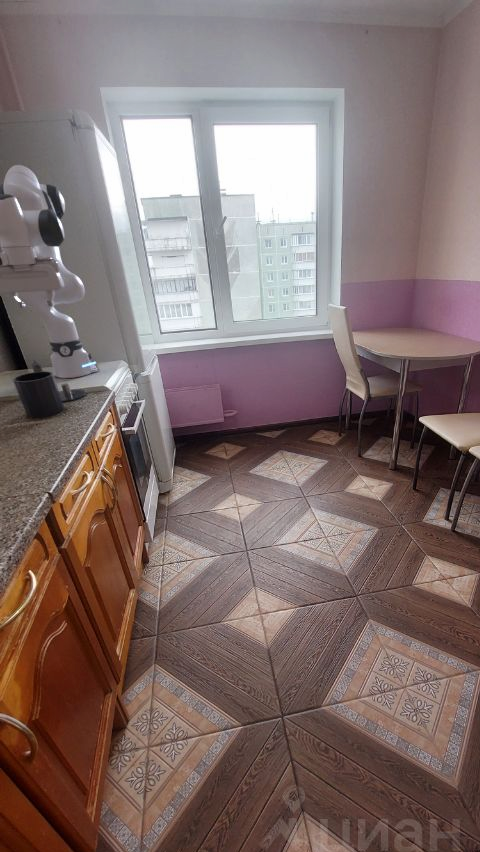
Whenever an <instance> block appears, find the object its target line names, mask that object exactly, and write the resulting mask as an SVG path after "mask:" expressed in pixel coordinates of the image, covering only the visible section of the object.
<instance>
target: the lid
mask: <svg viewBox="0 0 480 852" xmlns="http://www.w3.org/2000/svg"><path fill="white" fill-rule="evenodd" d="M60 385H61V389H62V391H59V393H60V396H61V399H62V402H63V403H69V402H74V401H77V400H81V399H82V398H85V397H86V396H87V391H85V390H84V389H71V388H70V385H69V383H67V382H65V383H61V384H60Z"/></svg>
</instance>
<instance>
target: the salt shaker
mask: <svg viewBox="0 0 480 852" xmlns="http://www.w3.org/2000/svg"><path fill="white" fill-rule="evenodd" d="M31 367H32V370H33V372H40V371H43V368H42V365H41V363H40V362H38V361H36V360H35V359H33V362H32V363H31Z"/></svg>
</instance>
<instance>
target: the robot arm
mask: <svg viewBox="0 0 480 852" xmlns="http://www.w3.org/2000/svg"><path fill="white" fill-rule="evenodd" d="M65 211H66V202H65V198H64V196H63V195H62V193H61V191H60V189H59V188H58V186H55V185H51V184H48V183H47V184H43V183H39V180H38V177H37V175H36V174H35V173H34V172H33V170H31V169H30V168H29V167H27V166H25V165H21V164H15V165H13V166H11V167H10V168H9V169H8V171H7V172H6V174H5V176H4V180H3V183H1V184H0V248H1V251H2V252H0V294H9V295H10V297H11V299H12V300H14V302H15V303H16V305H17V307H18V308H19V309H25V308H29V309H30V310H31V311H33V312H34V313H35V314H36V315H37V316H38V318H39V319H40V320H41V321H42V323H43V326H44V328H45V330H46V333H47V336H48V338H49V345H50V349H51V351H52V354H51V355H50V361H51V364H52V368H53V372H52V373H53V375H54V378H56V377H57V378H61V379H71V378H79V377H84V376H87V375H90V374H93V373H96V372H98V370H99V369H98V368H97V366H96V364H97V362H96V361H92V359H93V358H92V356H91V353H88V352H87V351H86V350H85V349H84V348H83V343H82V340H81V338H80V337H79V334H78V331H77V327H76V323H75V321H74V320H73V318H72V317H71V316H69V315H68V314H65V313H62V312H60V311H58V310H57V309H56V308H55V306H56V305H68V304H69V305H70V304H73V303H77V302H81V301H83V299H84V297H85V293H86V290H85V289H86V288H85V286H84V283H83V281H82V279H80V277H79V276H77V274H75V273H72V272H71V271H69V270H68V269H67V268H66V266H65V265H64V264H63V261H62V256H61V251H60V246H61V245H62V244H63V243H64V241H65V230H64V226H63V224H62V222H61V219H63V218H64V216H65Z"/></svg>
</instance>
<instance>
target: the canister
mask: <svg viewBox="0 0 480 852" xmlns="http://www.w3.org/2000/svg"><path fill="white" fill-rule="evenodd" d="M55 378H56V377H54V375H53V372H52V371H47V370H45V371H44V370H42V371H40V372H34V371H33V372H32V371H31V372H27V373H23V374H19V375H17V376H15V377H14V378H13V379H12V381H13V384H14V386H15V389H16V391H17V395H18V396H19V399H20V402H21V404H22V406H23V409H24V413H25V414H26V416H27V417H28V418H29V419H45V418H46V419H47V418H49V417H54V416H56V415H59V414H61V413H62V412H64V411H65V409H66V408H65V405H64V402H62V399H61V396H60V393H59V392H60V390H59V388H58V387H59V386H58V384H57V381H56V379H55Z"/></svg>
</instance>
